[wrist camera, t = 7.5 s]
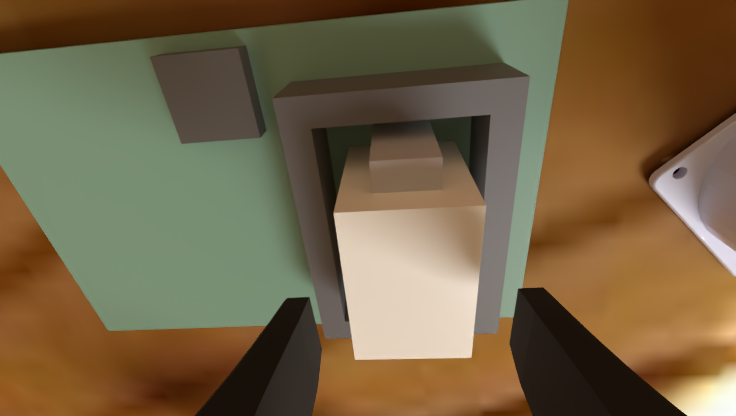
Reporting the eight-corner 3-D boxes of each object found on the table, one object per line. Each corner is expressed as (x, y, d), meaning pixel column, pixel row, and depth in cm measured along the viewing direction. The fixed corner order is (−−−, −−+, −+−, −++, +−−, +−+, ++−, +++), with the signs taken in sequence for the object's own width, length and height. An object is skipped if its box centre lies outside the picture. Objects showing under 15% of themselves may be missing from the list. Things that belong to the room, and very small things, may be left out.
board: (556, -5, 12) (614, -6, 9) (511, 302, 19) (535, 360, 16) (-39, 57, 14) (-158, 73, 11) (119, 317, 21) (74, 371, 18)
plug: (448, 264, 17) (471, 357, 12) (362, 267, 17) (355, 359, 13) (455, 113, 13) (490, 170, 9) (346, 121, 13) (328, 178, 9)
